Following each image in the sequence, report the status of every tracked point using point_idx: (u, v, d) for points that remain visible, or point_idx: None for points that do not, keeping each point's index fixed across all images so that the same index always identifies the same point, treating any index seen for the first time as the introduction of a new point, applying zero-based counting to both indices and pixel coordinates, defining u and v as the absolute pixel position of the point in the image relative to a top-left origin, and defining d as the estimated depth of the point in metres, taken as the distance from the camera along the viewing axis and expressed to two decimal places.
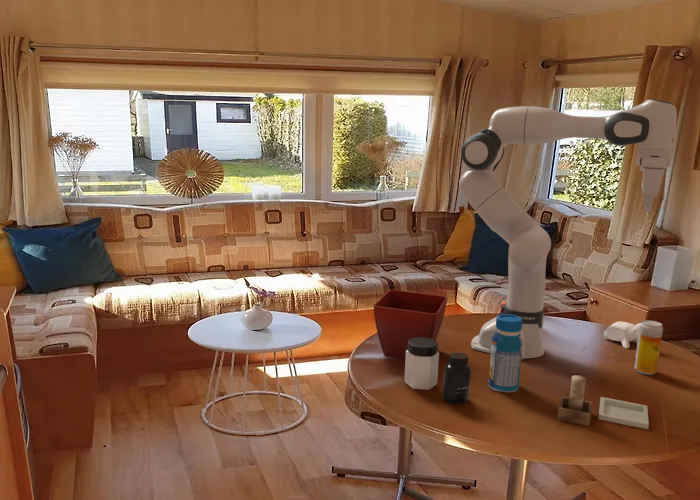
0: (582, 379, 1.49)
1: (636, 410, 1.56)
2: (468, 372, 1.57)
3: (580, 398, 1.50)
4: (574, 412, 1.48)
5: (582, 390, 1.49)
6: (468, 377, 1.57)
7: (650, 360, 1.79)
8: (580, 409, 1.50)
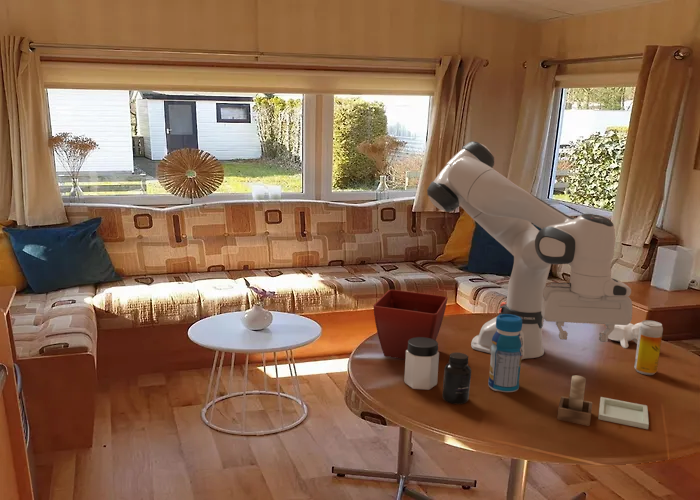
0: (582, 379, 1.49)
1: (636, 410, 1.56)
2: (468, 372, 1.57)
3: (580, 398, 1.50)
4: (574, 412, 1.48)
5: (582, 390, 1.49)
6: (468, 377, 1.57)
7: (650, 360, 1.79)
8: (580, 409, 1.50)
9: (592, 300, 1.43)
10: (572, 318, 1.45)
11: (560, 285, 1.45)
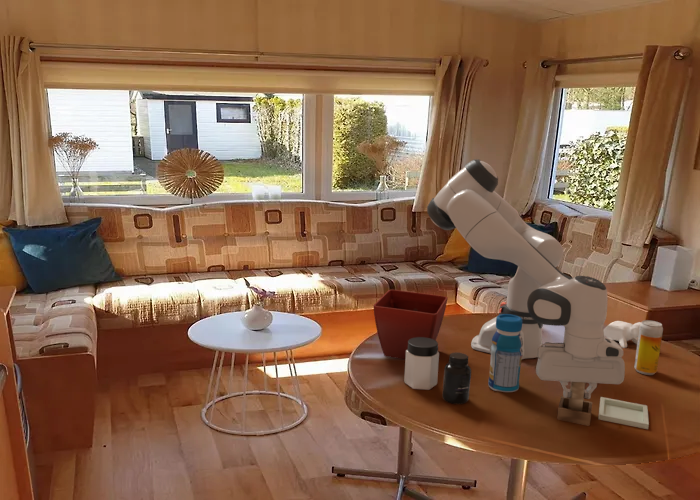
0: None
1: (636, 410, 1.56)
2: (468, 372, 1.57)
3: (580, 398, 1.50)
4: (574, 412, 1.48)
5: (582, 390, 1.49)
6: (468, 377, 1.57)
7: (650, 360, 1.79)
8: (580, 409, 1.50)
9: (585, 361, 1.46)
10: (566, 377, 1.48)
11: (554, 345, 1.48)
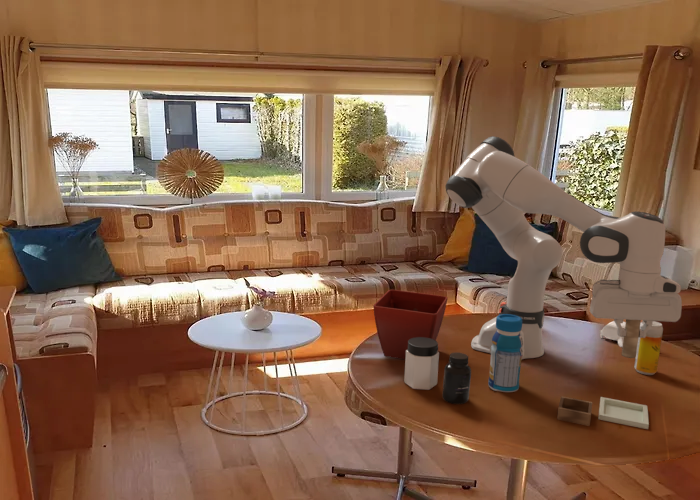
0: None
1: (636, 410, 1.56)
2: (468, 372, 1.57)
3: (635, 336, 1.48)
4: (574, 412, 1.48)
5: (638, 328, 1.47)
6: (468, 377, 1.57)
7: (650, 360, 1.79)
8: (635, 348, 1.48)
9: (642, 297, 1.44)
10: (621, 315, 1.47)
11: (609, 282, 1.46)
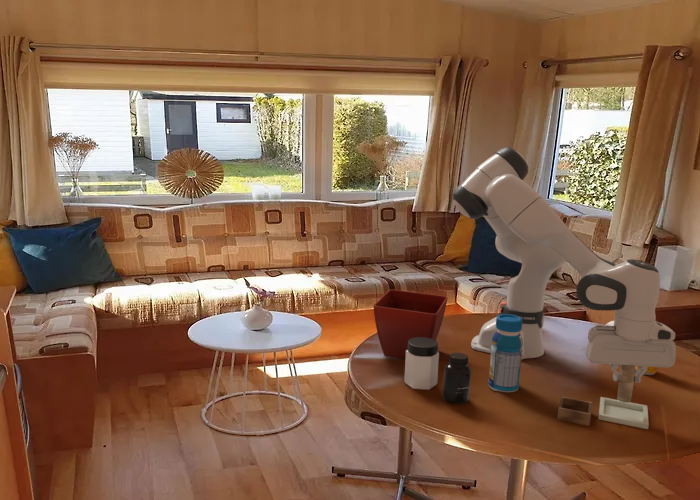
0: None
1: (636, 410, 1.56)
2: (468, 372, 1.57)
3: (631, 381, 1.50)
4: (574, 412, 1.48)
5: (633, 373, 1.50)
6: (468, 377, 1.57)
7: None
8: (630, 392, 1.51)
9: (637, 344, 1.46)
10: (616, 360, 1.49)
11: (605, 328, 1.49)
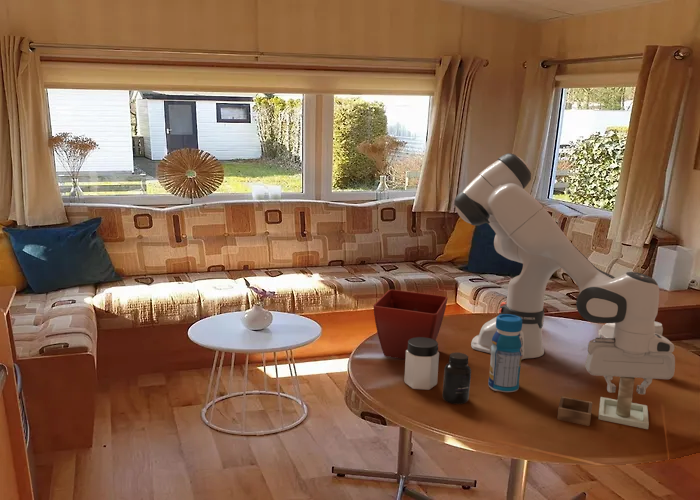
0: (631, 378, 1.51)
1: (636, 410, 1.56)
2: (468, 372, 1.57)
3: (629, 396, 1.51)
4: (574, 412, 1.48)
5: (631, 388, 1.51)
6: (468, 377, 1.57)
7: None
8: (629, 407, 1.52)
9: (636, 356, 1.47)
10: (616, 372, 1.50)
11: (605, 340, 1.50)
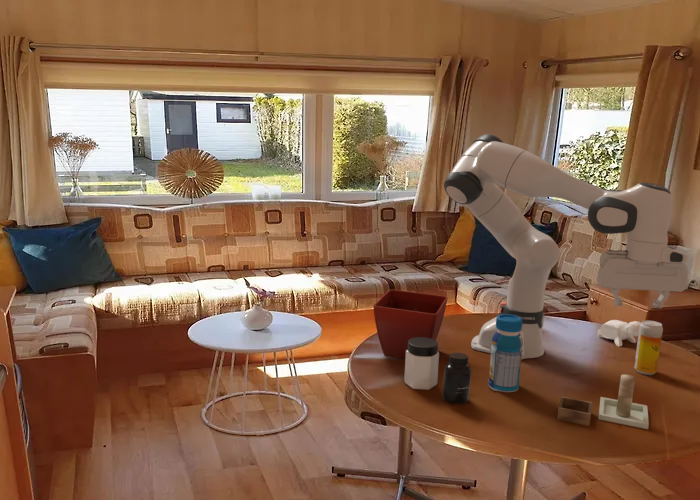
0: (631, 378, 1.51)
1: (636, 410, 1.56)
2: (468, 372, 1.57)
3: (630, 396, 1.51)
4: (574, 412, 1.48)
5: (632, 389, 1.51)
6: (468, 377, 1.57)
7: (650, 360, 1.79)
8: (629, 408, 1.52)
9: (649, 266, 1.46)
10: (628, 285, 1.48)
11: (617, 252, 1.48)
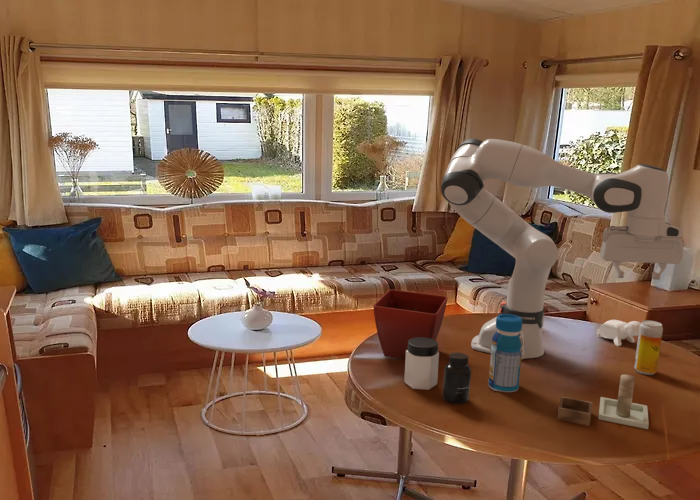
0: (631, 378, 1.51)
1: (636, 410, 1.56)
2: (468, 372, 1.57)
3: (630, 396, 1.51)
4: (574, 412, 1.48)
5: (632, 389, 1.51)
6: (468, 377, 1.57)
7: (650, 360, 1.79)
8: (629, 408, 1.52)
9: (648, 241, 1.59)
10: (629, 258, 1.62)
11: (618, 228, 1.62)
